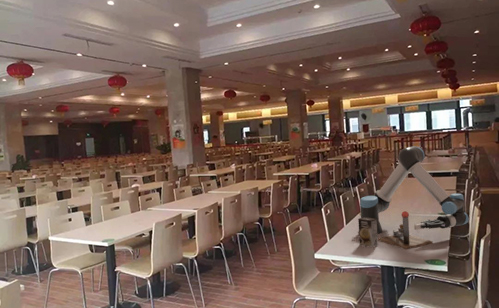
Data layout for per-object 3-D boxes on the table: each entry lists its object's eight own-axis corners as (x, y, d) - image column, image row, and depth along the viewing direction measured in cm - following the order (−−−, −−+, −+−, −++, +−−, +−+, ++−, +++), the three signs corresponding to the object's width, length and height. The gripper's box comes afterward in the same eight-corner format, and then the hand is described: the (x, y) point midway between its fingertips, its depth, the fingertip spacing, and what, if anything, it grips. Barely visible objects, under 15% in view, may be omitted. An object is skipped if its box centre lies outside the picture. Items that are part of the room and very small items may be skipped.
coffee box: (359, 245, 251) (357, 218, 250) (365, 242, 255) (363, 216, 254) (372, 247, 244) (370, 220, 243) (378, 245, 248) (376, 218, 247)
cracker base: (403, 235, 266) (402, 222, 265) (432, 243, 244) (432, 229, 243) (378, 240, 258) (377, 227, 258) (406, 249, 236) (405, 235, 236)
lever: (392, 235, 261) (391, 205, 260) (399, 234, 261) (397, 205, 260) (404, 244, 240) (402, 212, 239) (411, 243, 240) (409, 211, 239)
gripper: (454, 229, 246) (423, 235, 237) (437, 225, 258) (407, 231, 249) (454, 217, 245) (423, 222, 237) (437, 213, 258) (407, 219, 249)
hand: (415, 227), depth 243 cm, fingers closed
